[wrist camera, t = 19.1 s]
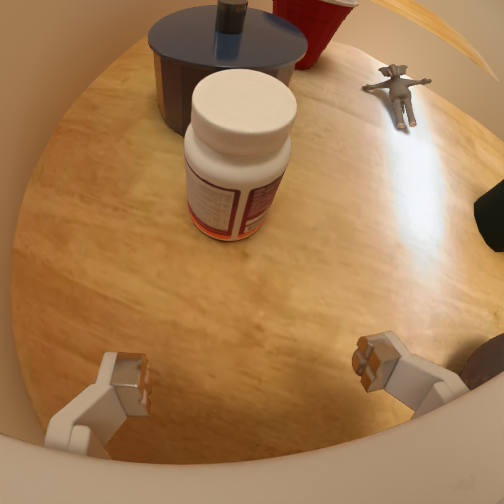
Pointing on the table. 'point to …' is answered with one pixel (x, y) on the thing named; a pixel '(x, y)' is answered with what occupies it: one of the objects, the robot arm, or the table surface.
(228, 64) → the pot lid
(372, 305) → the table surface
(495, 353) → the ladle
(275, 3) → the plastic cup
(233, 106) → the pill bottle
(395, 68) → the elephant figurine
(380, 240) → the table surface
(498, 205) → the wine bottle
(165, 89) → the pot
